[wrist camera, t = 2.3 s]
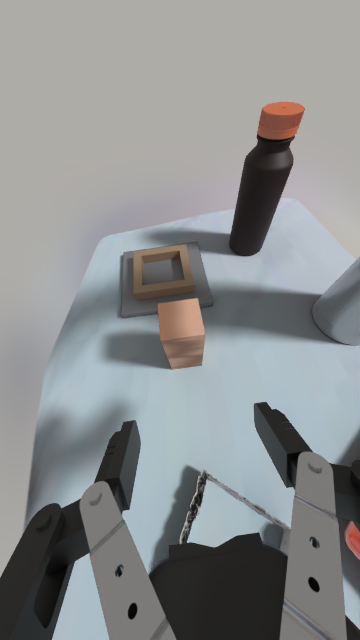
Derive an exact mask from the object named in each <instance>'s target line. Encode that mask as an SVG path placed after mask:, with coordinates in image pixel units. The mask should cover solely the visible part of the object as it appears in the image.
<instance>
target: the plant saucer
mask: <svg viewBox="0 0 360 640" xmlns="http://www.w3.org/2000/svg"><path fill="white" fill-rule="evenodd" d="M344 539H345V541H346V544H347V546H348V547H349V548H350V550H351V551H352V552H353V553H354V554H355V556H356V557H357V558H358V559H359V560H360V532H359V531H358V529H357V527H356V526H355V524H354V523H353V521H349V522H348V524H347V526H346V528H345V531H344Z"/></svg>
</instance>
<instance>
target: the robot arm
mask: <svg viewBox="0 0 360 640" xmlns="http://www.w3.org/2000/svg"><path fill="white" fill-rule="evenodd" d="M312 315H313V319H314V321H315V323H316V324H317V326H318V327H319V328H320V329H321V330H322V331H323V332H324V333H325V334H326V335H328V336H329V337H331V338H332V339H334V340H336V341H339V342H341V343H344V344H349V345H360V257H359V258H358V259H357V260H356V261H355V262H354V263H353V264H352V265H351V266H350V267H349V268H348V269H347V270H346V271H345V272H344V273H343V274H342V275H341V276H340V278H339V279H338V280H337V281H336V282H335V283H334V284H333V285H332V286H331V287H330V288H329V289H328V290H327V291H326V292H325V293H324V294H323V295H322V296H321V297H320V298H319V299H318V300H317V301H316V302H315V303H314V305H313V308H312ZM254 422H255V427H256V430H257V432H258V434H259V436H260V438H261V440H262V442H263V444H264V446H265V448H266V450H267V452H268V454H269V455H270V457H271V459H272V461H273V463H274V465H275V467H276V469H277V471H278V473H279V475H280V477H281V478H282V480H283V482H284V484H285V486H286V488H288V487H293V488H294V489H295V495H294V502H293V512H292V522H291V533H290V543H289V553H288V555H286V554H285V553H284V552H283V551H281V550H280V549H278V548H276V547H274V546H273V545H270V544H268V543H265V542H262V541H261V537H260V534H259V533H253V534H246V535H239V536H236V537H234V538H232V539H230V540H229V541H227V542H225V543H223V544H222V545H220V546H218V547H215V548H214V547H209V546H204V545H200V544H196V543H184V544H177V545H170V546H169V556H167V557H165V558H164V559H163V560H161V561H160V562H159V563H158V564H157V565H156V566H155V567H154V569H153V570H152V571H151V572H150V574H149V575H148V574H147V572H146V569H145V567H144V565H143V562H142V560H141V558H140V555H139V553H138V551H137V548H136V546H135V544H134V541H133V539H132V537H131V534H130V532H129V529H128V527H127V525H126V523H125V521H124V520H123V518H122V512H123V511H124V510H129V509H130V503H131V498H132V492H133V487H134V481H135V475H136V470H137V464H138V459H139V453H140V446H141V442H140V435H139V431H138V427H137V423H136V421H135V420H133V421H126V422H123V425H122V428H121V431H118V432H115V433H114V435H113V436H112V437H111V439H110V441H109V444H108V446H107V449H106V452H105V456H104V457H103V460H102V463H101V465H100V468H99V471H98V474H97V476H96V479H95V482H94V484H93V485H91V486H90V487H89V488H88V489H87V490H86V491H85V493H84V494H83V496H82V498H81V499H79V500H78V501H76V502H74V503H72V504H70V505H68V506H66V507H64V508H61V507H60V505H59V504H57V503H52V504H49V505H47V506H45V507H43V508H42V509H41V510H40V511H38V512H37V513H36V514H35V516H34V517H33V518H32V519H31V521H30V522H29V524H28V526H27V528H26V530H25V531H24V533H23V535H22V537H21V539H20V541H19V543H18V545H17V547H16V549H15V551H14V553H13V555H12V556H11V558H10V560H9V562H8V564H7V566H6V568H5V570H4V572H3V574H2V576H1V577H0V640H52V637H53V634H54V630H55V627H56V623H57V620H58V617H59V613H60V610H61V607H62V603H63V600H64V596H65V593H66V590H67V586H68V583H69V579H70V576H71V573H72V569H73V566H74V563H75V561H76V560H78V559H79V558H81V557H83V556H85V555H86V554H88V553H90V559H91V564H92V568H93V572H94V576H95V581H96V585H97V589H98V593H99V597H100V602H101V606H102V610H103V614H104V618H105V622H106V627H107V631H108V635H109V639H110V640H360V630H359V629H358V628H357V627H356V625H355V624H354V623H353V622H352V621H351V620H350V619H349V618H348V617H347V616H346V615H345V606H344V593H343V579H342V565H341V552H340V538H339V525H338V518H341V519H345V520H349V521H353V523H354V524H355V526H356V527H357V529H358V531H359V532H360V460H356V461H354V462H353V463H352V466H351V467H347V466H341V465H335V464H331V463H328V462H327V460H325V459H324V458H323V457H322V456H320V455H318V454H316V453H313V451H312V450H311V449H310V448H309V446H308V445H307V444H306V442H305V441H304V440H303V439H302V437H301V436H300V435H299V433H298V432H297V431H296V429H294V427H293V426H292V424H291V423H290V422H289V420H288V419H287V418H286V416H285V415H284V414H283V413H281V412H280V411H278V410H277V409H273V410H272V409H271V408H270V406H269V405H268V404H267V402H261V403H254Z"/></svg>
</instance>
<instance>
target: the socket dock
mask: <svg viewBox="0 0 360 640" xmlns="http://www.w3.org/2000/svg"><path fill="white" fill-rule="evenodd" d="M195 298H198V302H199V306H200V307H207V306H212V305H213V301H212V297H211V294H210V290H209V286H208V282H207V278H206V274H205V270H204V266H203V262H202V258H201V255H200V251H199V247H198V243H197V242H193V243H186V244H179V245H172V246H165V247H158V248H151V249H144V250H137V251H129V252H124V254H123V279H122V304H121V316H122V318H129V317H136V316H143V315H150V314H157V313H158V304H159V303H166V302H173V301H180V300H187V299H195Z"/></svg>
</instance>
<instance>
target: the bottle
mask: <svg viewBox="0 0 360 640" xmlns="http://www.w3.org/2000/svg"><path fill="white" fill-rule="evenodd" d="M304 110H305V108H304V107H303V106H302V105H300V104H297V103H291V102H278V103H272V104H268V105H266V106H265V107H263V109H262V112H261V116H260V121H259V127H258V131H257V133H258V134H257V139H258V143H257V146H256V147H255V148H254V149H253V150H252V151H251V152H250V153H249V154H248V155H247V156H246V159H245V162H244V167H243V173H242V178H241V183H240V188H239V194H238V199H237V204H236V209H235V215H234V220H233V225H232V231H231V236H230V241H229V245H230V248H231V249H232V251H234V252H235V253H237V254H240V255H245V256H247V255H253V254H256V253H257V252H259V251H260V249H261V248H262V245H263V243H264V240H265V237H266V235H267V232H268V229H269V227H270V224H271V221H272V219H273V216H274V213H275V211H276V208H277V205H278V203H279V200H280V197H281V195H282V192H283V190H284V187H285V184H286V181H287V179H288V176H289V173H290V171H291V168H292V166H293V155H292V153H291V150H290V148H289V146H290V143H291V141H292V140H293V139H294V138H295V134H296V133H297V130H298V128H299V124H300V122H301V119H302V115H303V113H304Z"/></svg>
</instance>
